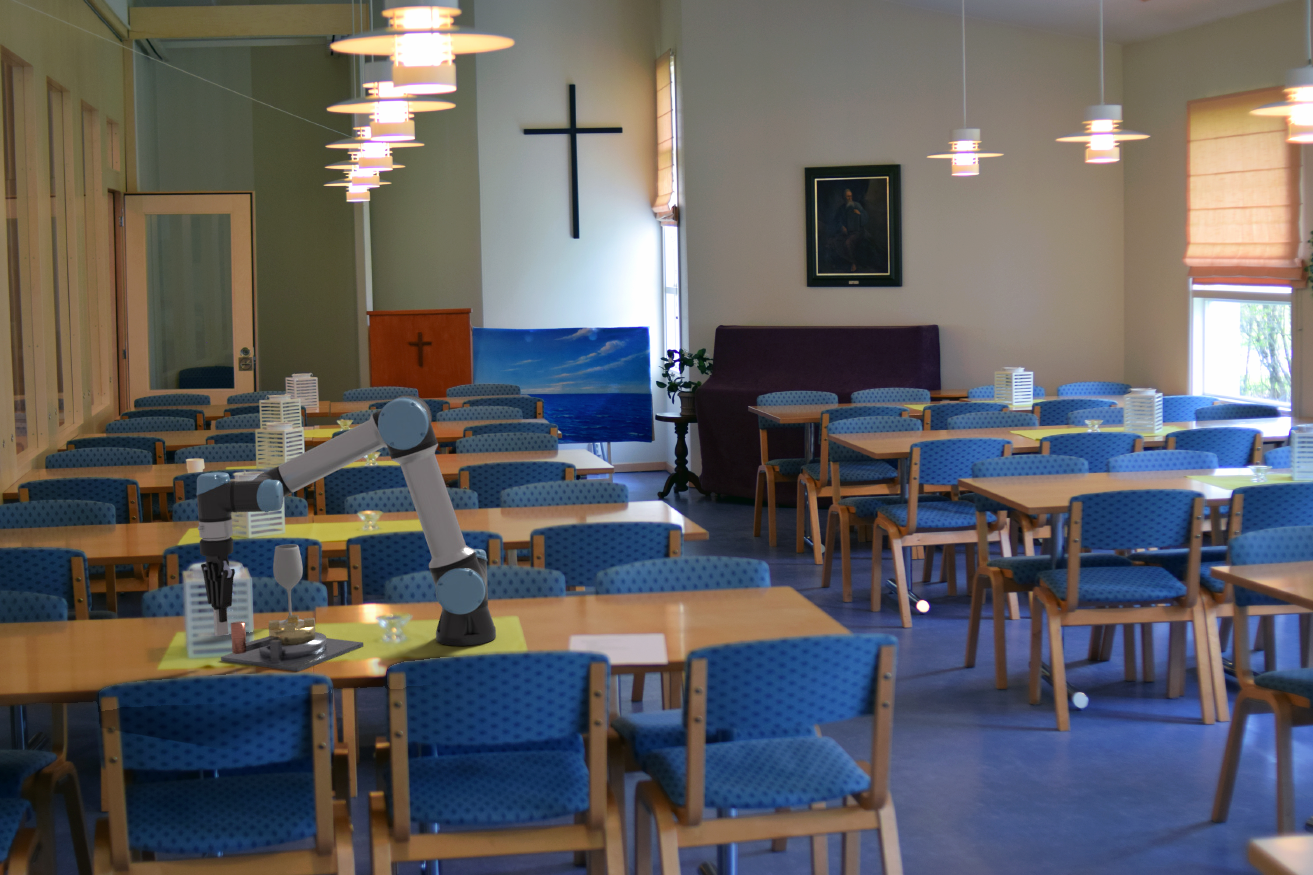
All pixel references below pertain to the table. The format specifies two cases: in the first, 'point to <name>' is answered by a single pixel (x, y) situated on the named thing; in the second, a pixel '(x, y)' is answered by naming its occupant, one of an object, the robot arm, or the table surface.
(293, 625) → the tan handled round piece
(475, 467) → the table surface
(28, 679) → the table surface
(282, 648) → the housing
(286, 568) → the wineglass
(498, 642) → the table surface
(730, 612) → the table surface
